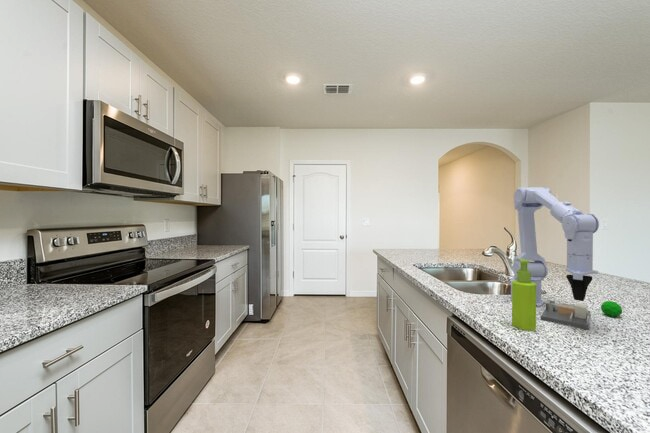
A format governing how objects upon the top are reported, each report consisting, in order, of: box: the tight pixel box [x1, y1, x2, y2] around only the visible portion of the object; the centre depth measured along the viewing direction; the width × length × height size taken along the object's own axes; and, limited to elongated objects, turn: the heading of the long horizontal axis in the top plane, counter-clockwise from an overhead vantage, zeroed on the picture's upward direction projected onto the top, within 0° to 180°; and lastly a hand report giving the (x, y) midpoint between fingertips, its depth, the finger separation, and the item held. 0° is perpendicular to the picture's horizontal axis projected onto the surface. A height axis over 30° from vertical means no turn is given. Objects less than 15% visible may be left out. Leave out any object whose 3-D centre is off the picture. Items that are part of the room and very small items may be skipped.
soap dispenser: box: [511, 259, 537, 332], centre depth 84 cm, size 6×7×20 cm
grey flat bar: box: [551, 302, 589, 314], centre depth 92 cm, size 9×3×1 cm, turn 45°
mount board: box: [540, 299, 591, 330], centre depth 92 cm, size 11×18×4 cm, turn 135°
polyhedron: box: [600, 300, 623, 318], centre depth 93 cm, size 5×5×5 cm
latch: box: [574, 301, 588, 319], centre depth 89 cm, size 3×5×4 cm, turn 135°
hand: (579, 300), depth 83 cm, fingers closed
